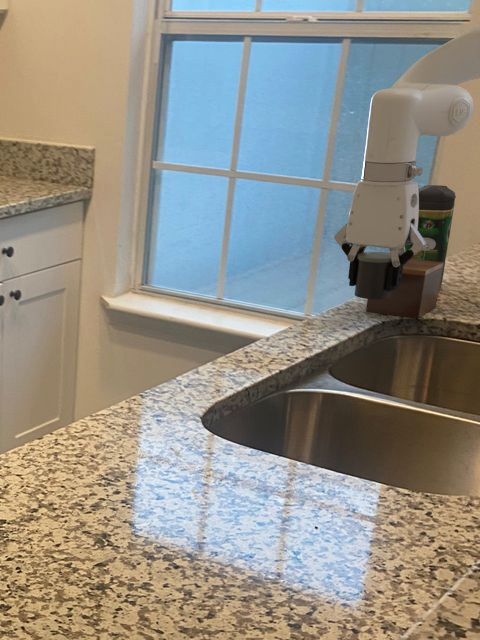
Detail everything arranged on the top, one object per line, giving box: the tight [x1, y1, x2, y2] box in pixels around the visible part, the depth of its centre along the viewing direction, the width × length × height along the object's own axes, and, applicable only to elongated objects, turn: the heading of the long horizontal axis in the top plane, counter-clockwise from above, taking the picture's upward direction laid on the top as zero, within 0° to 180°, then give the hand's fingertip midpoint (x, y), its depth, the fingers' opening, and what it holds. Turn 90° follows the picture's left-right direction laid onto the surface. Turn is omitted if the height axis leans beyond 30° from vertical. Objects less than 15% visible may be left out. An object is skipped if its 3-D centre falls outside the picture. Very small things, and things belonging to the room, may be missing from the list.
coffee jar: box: [404, 184, 457, 289], centre depth 191 cm, size 10×8×19 cm
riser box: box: [365, 259, 444, 319], centre depth 178 cm, size 9×9×8 cm
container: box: [354, 251, 392, 300], centre depth 169 cm, size 6×6×7 cm
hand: (373, 286), depth 169 cm, fingers closed on container, 5 cm apart
